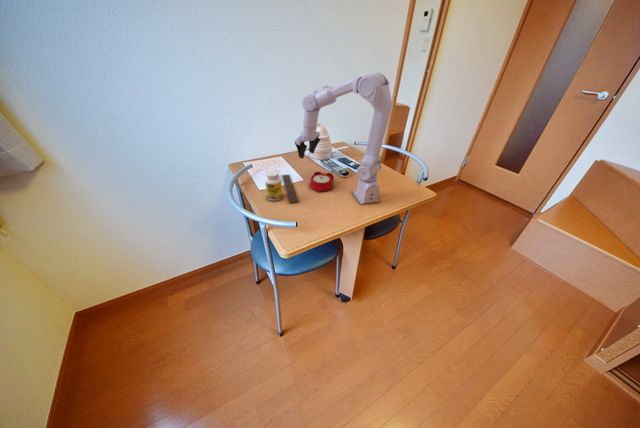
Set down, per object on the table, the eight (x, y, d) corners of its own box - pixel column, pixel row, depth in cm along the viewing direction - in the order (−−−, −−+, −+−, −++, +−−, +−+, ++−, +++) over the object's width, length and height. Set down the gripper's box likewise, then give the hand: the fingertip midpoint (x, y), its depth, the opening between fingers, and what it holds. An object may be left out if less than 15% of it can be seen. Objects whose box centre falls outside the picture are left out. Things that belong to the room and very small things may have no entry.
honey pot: (310, 159, 123) (310, 126, 112) (309, 150, 134) (309, 119, 123) (332, 159, 124) (335, 126, 113) (330, 150, 135) (331, 119, 124)
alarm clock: (306, 184, 93) (314, 163, 102) (307, 194, 98) (314, 173, 107) (330, 187, 92) (336, 165, 101) (330, 197, 96) (335, 176, 106)
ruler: (297, 202, 89) (297, 201, 88) (290, 203, 88) (290, 202, 88) (288, 175, 107) (288, 174, 107) (282, 176, 106) (282, 175, 106)
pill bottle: (268, 202, 88) (264, 177, 82) (266, 194, 93) (263, 170, 86) (283, 200, 90) (281, 175, 83) (281, 192, 94) (279, 168, 88)
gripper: (312, 119, 98) (309, 147, 107) (291, 126, 89) (289, 156, 98) (325, 124, 96) (320, 153, 105) (304, 132, 86) (301, 162, 95)
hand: (306, 155), depth 101 cm, fingers open, 7 cm apart
